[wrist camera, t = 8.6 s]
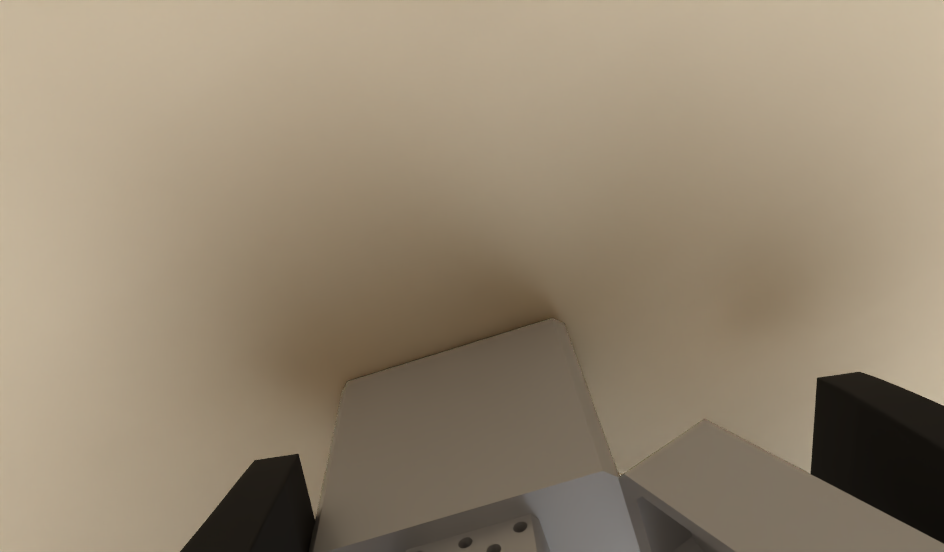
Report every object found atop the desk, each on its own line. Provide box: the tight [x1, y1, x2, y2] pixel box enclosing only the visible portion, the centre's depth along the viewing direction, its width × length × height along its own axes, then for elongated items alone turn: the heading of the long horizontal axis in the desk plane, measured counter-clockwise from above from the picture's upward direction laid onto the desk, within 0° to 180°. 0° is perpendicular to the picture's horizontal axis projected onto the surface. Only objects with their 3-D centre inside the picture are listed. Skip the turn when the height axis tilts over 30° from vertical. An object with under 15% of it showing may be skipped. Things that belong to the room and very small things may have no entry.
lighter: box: [309, 318, 944, 552], centre depth 10 cm, size 7×2×8 cm, turn 108°
